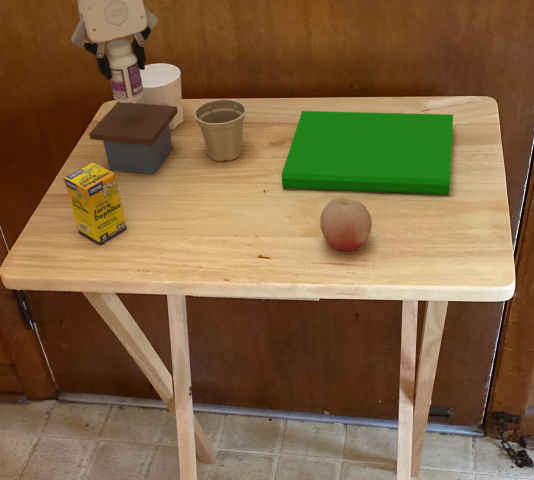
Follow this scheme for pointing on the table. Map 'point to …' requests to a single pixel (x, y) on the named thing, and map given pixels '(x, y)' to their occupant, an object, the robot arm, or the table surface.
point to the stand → (136, 136)
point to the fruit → (345, 224)
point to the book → (371, 152)
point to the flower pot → (222, 127)
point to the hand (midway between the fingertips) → (123, 70)
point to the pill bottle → (124, 72)
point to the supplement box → (96, 203)
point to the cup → (163, 88)
